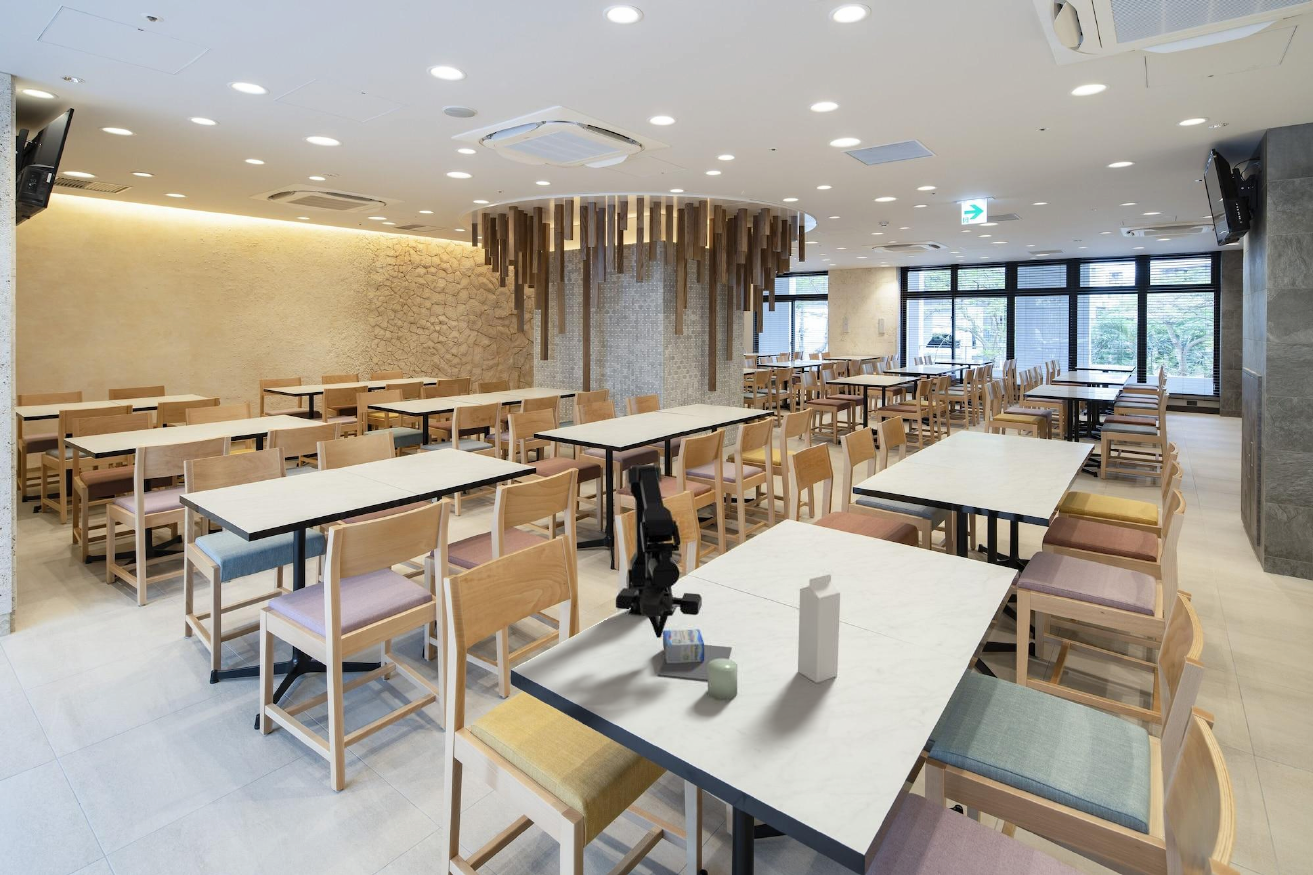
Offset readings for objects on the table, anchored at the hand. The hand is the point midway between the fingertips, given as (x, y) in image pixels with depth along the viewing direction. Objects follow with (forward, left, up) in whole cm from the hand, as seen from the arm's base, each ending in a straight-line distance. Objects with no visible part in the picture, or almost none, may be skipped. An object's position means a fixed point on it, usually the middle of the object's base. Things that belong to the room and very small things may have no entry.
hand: (659, 637), depth 156 cm
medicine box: (+1, +1, -2) cm, 3 cm away
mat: (+9, 0, -5) cm, 10 cm away
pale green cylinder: (+16, -12, -5) cm, 21 cm away
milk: (+35, 0, -5) cm, 35 cm away
